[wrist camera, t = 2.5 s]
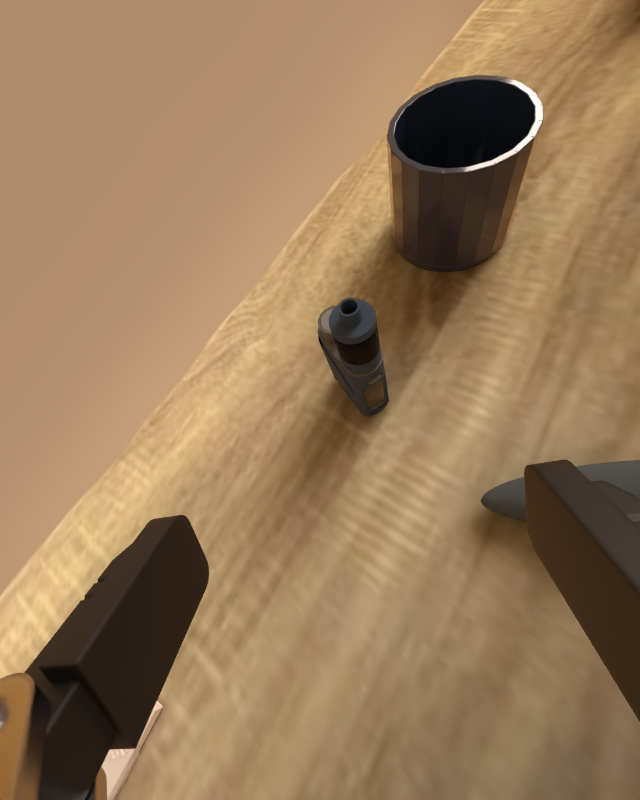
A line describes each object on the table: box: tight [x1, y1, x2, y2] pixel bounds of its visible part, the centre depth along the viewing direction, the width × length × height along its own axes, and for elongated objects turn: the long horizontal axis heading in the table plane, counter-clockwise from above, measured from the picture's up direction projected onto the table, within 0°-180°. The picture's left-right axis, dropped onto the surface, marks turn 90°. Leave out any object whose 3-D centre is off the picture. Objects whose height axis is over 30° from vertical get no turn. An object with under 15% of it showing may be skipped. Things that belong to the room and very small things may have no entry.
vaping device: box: [318, 298, 389, 416], centre depth 23 cm, size 3×5×12 cm, turn 33°
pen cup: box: [387, 75, 543, 272], centre depth 29 cm, size 10×10×9 cm
